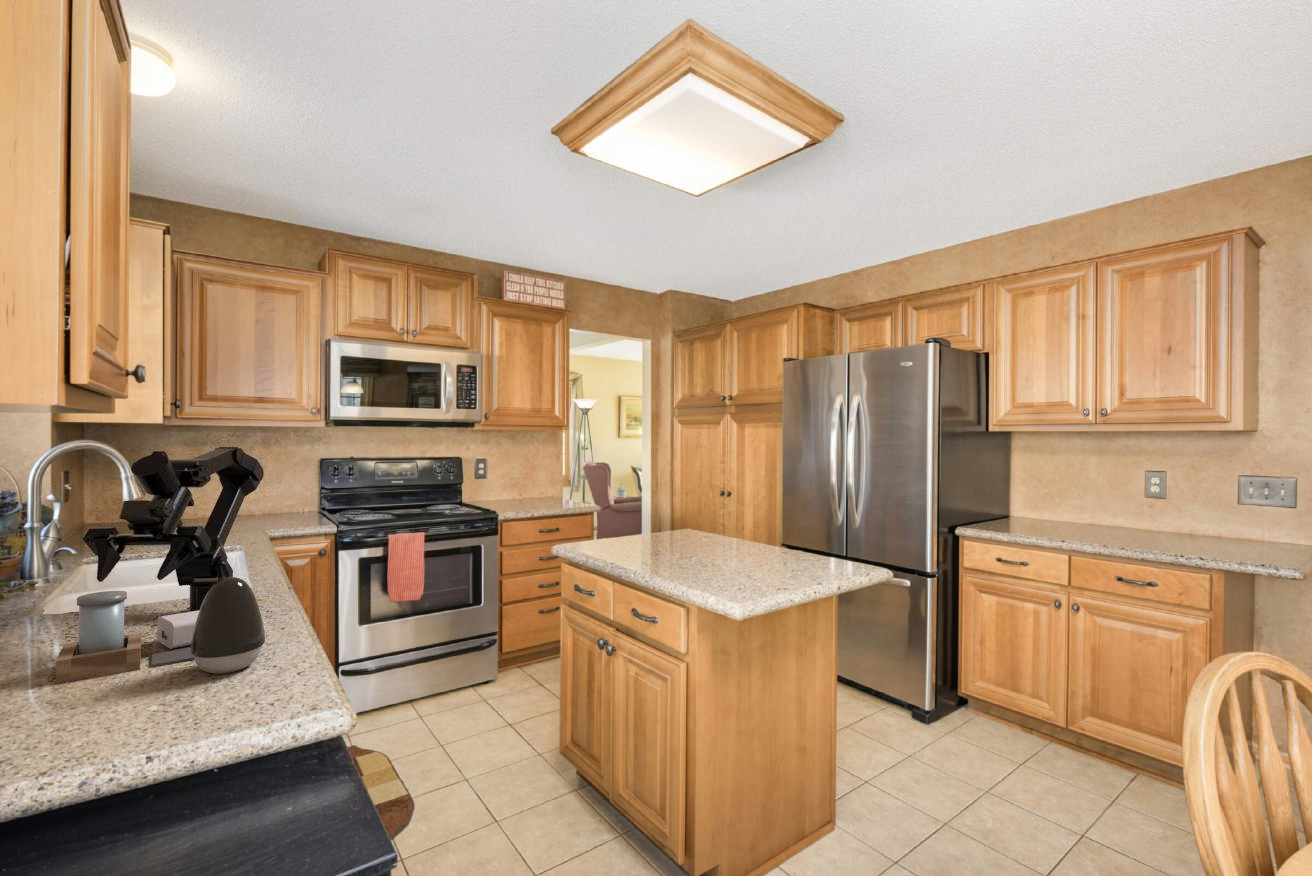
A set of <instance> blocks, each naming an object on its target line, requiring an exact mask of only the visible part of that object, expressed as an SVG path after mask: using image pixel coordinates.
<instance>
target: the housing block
mask: <svg viewBox="0 0 1312 876" xmlns="http://www.w3.org/2000/svg"><path fill="white" fill-rule="evenodd" d="M141 660H142V633H141V632H140V633H138V632H137V633H133V634H132V633H130V634H126V635H125V634H124V648H120V649H114V650H107V651H101V652H95V653H88V654H82V655H79V641H76V642H70V643H63V645H62V648H61V649H60V652H59V654H58V656H57V659H56V661H55V664H56V665H55V684H56V685H57V684H63V683H68V682H74V681H79V680H80V681H81V680H86V679H91V678H92V679H93V678H97V677H103V676H108V675H115V674H121V673H126V672H131V671H137V670H138V671H139V670H141Z"/></svg>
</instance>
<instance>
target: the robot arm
mask: <svg viewBox="0 0 1312 876" xmlns="http://www.w3.org/2000/svg"><path fill="white" fill-rule="evenodd" d="M130 469H131V473H132V474H133V475H134V476H133V477H135V479H136V480H137V481H138V483H139V484H140V486H141V488H142V489H143V491H144V492H145V494H147V495H151V496H152V498H151V500H147V499H144V500H138V499H137V500H124V501H123V502H122V507H121V511H120V514H119V517H118V518H119V519H120V520H124V521H126V522H127V523H128V524H127V528H128V530H129V531H133V533H120V532H119V531H118V529H117V528H116V527H115V526H114V527H112V526H111V527H91V528H88V529H87V530H86V531H85V533H84V535H83V536H82V537H81V538H82V540H83V542H85V544H86V545H87V547H88V548H89V550H91V551H92V553H93V554H94V555H95V556H97V571H96V580H97V581H98V582H100V583H103V581H104V580H105V579H106V578H108V576H109V575H110V574H111V573H112V570H113V569H114V568H115V567H116V565H117V564H118V563H119V562H120V560H121V558H122V556H121V554H122V553H124V551H125V549H126V547H127V546H147V547H165V546H166V547H169V551H168V552H167V554H166V555H165V557H164V558H165V559H164V560H163V562H162V564H161V566H160V567H159V569H158V572H157V575H156V579H157V580H158V581H163V579H165V578H166V577H167V576H169V575H170V574H171V573H173V572H175V574H176V578H177V583H178V586H179V587H182V586H189V607H186V612H192V611H199V610H200V608H201V605H202V603H203V600H204V598H205V596H206V595H207V593H208V591H209V590H210V588H211V587H212V586H213V585H214V584H215V583H216V582H217V581H219V580H220V579H221V578H222V577H226V578H227V577H234V569H233V568H232V566H231V565H230V563H229V562H228V555H227V552H226V549H225V544H226V542H227V539H228V537H229V535H230V532H231V530H232V527H233V526H234V523H235V521H236V518H237V516H238V514H239V512H240V509H241V506H242V504H243V501H244V500H245V498H246V497H247V496H248V495H250V494H252V493H253V492H255V491H256V490H257V488H258V487H259V485H260V483H261V482H262V481H263V479H264V476H265V475H264V473H265V471H264V467H263V466H262V465H261V463H260V462H259V460H258V459H256V458H255V457H253V456H252V455H249V454H247V453H246V452H245V451H244V450H243V448H241V447H239V446H219V447H215V448H214V449H213V450H210V451H208V452H206V453H203V454H200V455H198V456H196V457H193V458H182V459H169V455H168V454H167V452H166V451H165V450H155V451H154V450H153V451H152V453H151V454H149V455H146V456H143V457H141V458H140V459H138V460H137V461H134V462H133V463H132V465H131V467H130ZM213 474H216V475H217V476H218V479H219V483H220V485H221V491H220V493H219V495H218V498H217V500H216V502H215V504H214V506H213V509H212V511H211V513H210V515H209V516H208V519H207V521H206V523H205V525H204V526H203V525H183V524H184V523H183V521H182V520H181V519H182V517H183V516H184V515H183V514H184V513H185V511H186V509H187V507H194V506H195V500H194V498H193V493H192V492H191V490H190V489H191V488H192V489H194V488H195V489H196V488H197V489H199V488H203V487H204V486H206V485H207V484H208V483H209V482H210V481H211V480H212V479H211V478H212V477H211V476H212V475H213ZM189 488H190V489H189ZM175 532H176V533H175Z"/></svg>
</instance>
